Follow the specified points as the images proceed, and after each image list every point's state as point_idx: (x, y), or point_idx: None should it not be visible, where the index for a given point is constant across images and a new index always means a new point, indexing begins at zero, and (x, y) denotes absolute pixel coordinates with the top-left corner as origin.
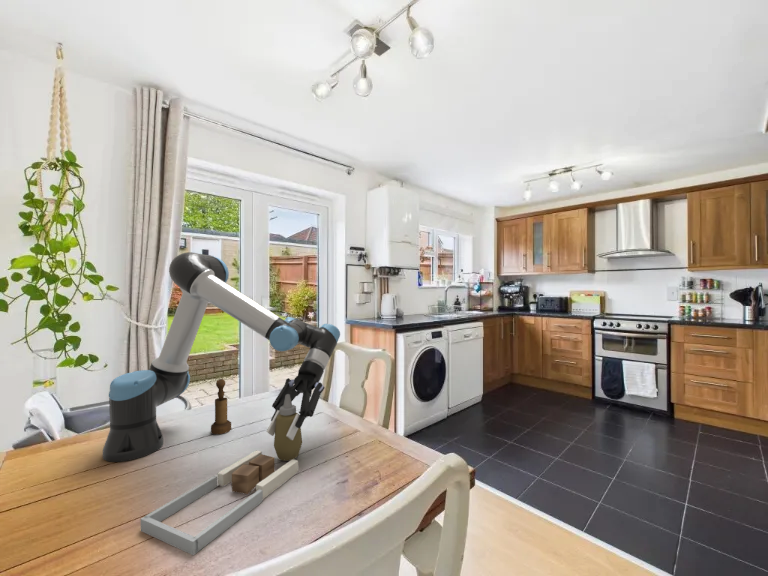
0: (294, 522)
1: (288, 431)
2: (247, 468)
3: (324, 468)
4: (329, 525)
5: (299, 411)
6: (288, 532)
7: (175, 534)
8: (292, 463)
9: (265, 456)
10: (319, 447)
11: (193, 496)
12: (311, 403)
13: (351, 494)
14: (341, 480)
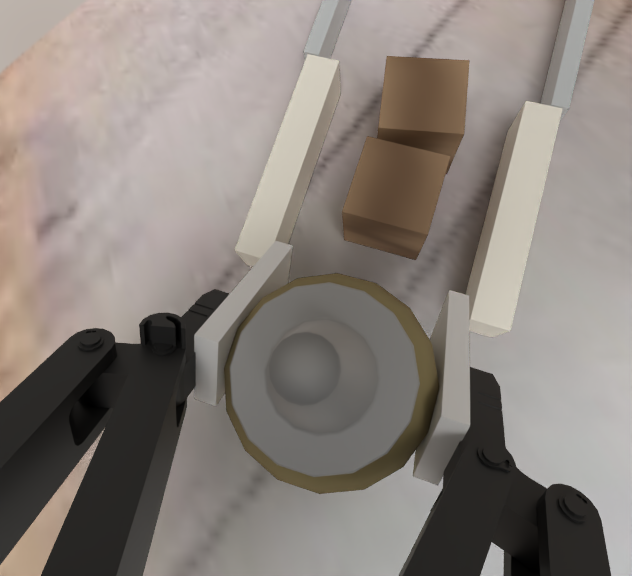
0: (170, 14)
1: (279, 257)
2: (422, 105)
3: (142, 305)
4: (71, 19)
5: (174, 327)
6: None
7: None
8: (252, 223)
9: (394, 214)
10: (213, 517)
11: (562, 31)
12: (12, 403)
13: (19, 153)
14: (60, 227)
